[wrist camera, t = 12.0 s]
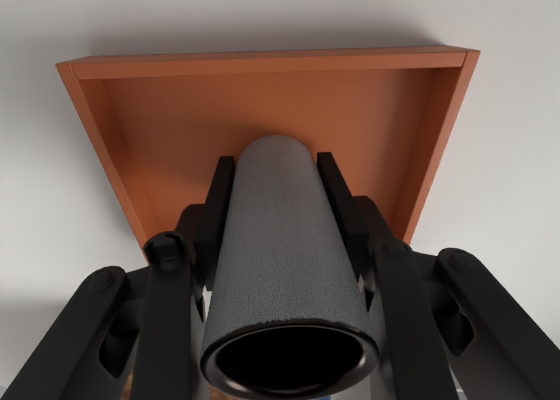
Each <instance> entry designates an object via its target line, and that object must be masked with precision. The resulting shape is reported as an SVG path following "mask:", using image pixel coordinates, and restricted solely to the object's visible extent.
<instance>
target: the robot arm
mask: <svg viewBox="0 0 560 400" xmlns="http://www.w3.org/2000/svg"><path fill="white" fill-rule="evenodd" d="M316 165H317V168H318V171H319V174H320V177H321V180H322V183H323V185H324V188H325V191H326V194H327V197H328V200H329V203H330V206H331V208H332V211H333V214H334V217H335V220H336V223H337V226H338V229H339V232H340V234H341V237H342V240H343V243H344V246H345V249H346V252H347V255H348V257H349V260H350V263H351V266H352V269H353V272H354V275H355V278H356V280H357V283H358V282H359V278H360V274H361V277H362V279H363V282H364V285H363V289H362V293H361V295H362V298H363V301H364V304H365V306H366V309H367V312H368V315H369V318H370V321H371V324H372V327H373V330H374V332H375V335H376V338H377V342H378V345H379V349H380V356H379V360H378V363H377V365H376V367H375V369H374V370H373V371H372V372H371V374H370V375H369V381H370V393H371V400H460V399H459V396H458V393H457V390H456V387H455V383H454V380H453V377H452V374H451V371H450V368H451V370H452V372H453V374H454V376H455V377H456V379H457V381H458V383H459V385H460V387H461V389H462V390H463V392H464V394H465V396H466V398H467V400H560V350H559V349H558V347H557V346H556V345H555V344H554V343H553V342H552V341H551V340H550V339H549V337H548V336H547V335H546V334H545V333H544V332H543V331H542V330H541V328H540V327H539V326H538V325H537V324H536V323H535V322H534V321H533V320H532V318H531V317H530V316H529V315H528V314H527V313H526V312H525V311H524V309H523V308H522V307H521V306H520V305H519V304H518V303H517V302H516V301H515V299H514V298H513V297H512V296H511V295H510V294H509V293H508V292H507V290H506V289H505V288H504V287H503V286H502V285H501V284H500V283H499V282H498V280H497V279H496V278H495V277H494V276H493V275H492V274H491V273H490V271H489V270H488V269H487V268H486V267H485V266H484V265H483V264H482V263H481V261H480V260H478V259H477V258H476V257H475V256H474V255H472V254H470V253H468V252H467V251H464V250H461V249H458V248H445V249H442V250H441V251H440V252H439V254H438V256H433V255H428V254H423V253H418V252H414V251H412V249H411V247H410V246H409V245H408V244H407V243H405V242H404V241H402V240H400V239H398V238H395V236H394V234H393V233H392V231H391V229H390V228H389V226H388V224H387V223H386V221H385V219H384V217H383V216H382V214H381V212H380V211H379V210H378V207H377V206H376V204H375V202H374V201H373V200H371V199H370V198H369V197H367V196H366V195H362V196H352V194H351V192H350V190H349V188H348V186H347V184H346V182H345V180H344V178H343V176H342V174H341V172H340V170H339V167H338V165H337V163H336V161H335V159H334V157H333V155H332V153H331V152H317V162H316ZM235 170H236V169H235V161H234V156H220V157H219V160H218V163H217V166H216V170H215V173H214V176H213V179H212V182H211V185H210V188H209V191H208V194H207V197H206V201H205V203H203V204H189V205H188V206H187V207H186V208H185V209H184V210H183V211H182V213H181V216H180V218H179V221H178V223H177V225H176V227H175V230H174V231H164V232H161V233H158V234H156V235H154V236H152V237H151V238H150V239H149V240H147V241H146V242H145V244H144V246H143V248H142V249H143V251H144V253H145V255H146V257H147V259H148V262H149V264H150V265H149V266H147V267H144V268H142V269H138V270H135V271H131V272H128V273H125V271H124V269H122V268H121V267H119V266H108V267H104V268H101V269H99V270H97V271H95V272H93V273H92V274H90V275H89V276H88V277H87V278H86V279H85V280H84V281H83V282H82V283H81V285H80V286H79V287H78V289H77V290H76V292H75V293H74V295H73V296H72V297H71V299H70V300H69V302H68V303H67V305H66V306H65V307H64V309H63V310H62V312H61V313H60V315H59V316H58V317H57V319H56V320H55V322H54V323H53V325H52V326H51V327H50V329H49V330H48V332H47V333H46V335H45V336H44V337H43V339H42V340H41V342H40V343H39V345H38V346H37V347H36V349H35V350H34V352H33V353H32V354H31V356H30V357H29V359H28V360H27V362H26V363H25V364H24V366H23V367H22V369H21V370H20V372H19V373H18V374H17V376H16V377H15V379H14V380H13V382H12V383H11V384H10V386H9V387H8V389H7V390H6V392H5V393H4V394H3V396H2V397H1V399H0V400H120V398H121V396H122V393H123V390H124V388H125V385H126V383H127V380H128V377H129V375H130V372H131V370H132V367H133V365H134V362H135V365H134V371H133V377H132V383H131V390H130V396H129V400H210V395H209V383H208V382H207V381H206V380H205V378H204V377H203V375H202V373H201V370H200V365H199V360H200V354H201V348H202V343H203V338H204V332H205V327H206V319H205V301H204V298H203V295H202V293H203V289H204V284H205V286H206V289H207V291H212V290H213V285H214V280H215V275H216V269H217V264H218V259H219V254H220V249H221V243H222V238H223V233H224V228H225V222H226V217H227V212H228V207H229V201H230V196H231V191H232V186H233V181H234V175H235ZM449 366H450V368H449Z"/></svg>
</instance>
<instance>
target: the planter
mask: <svg viewBox="0 0 560 400" xmlns="http://www.w3.org/2000/svg"><path fill="white" fill-rule="evenodd" d="M379 356H380V349H379V345H378V342H377V338H376V335H375V332H374V330H373V327H372V324H371V321H370V318H369V315H368V312H367V309H366V306H365V304H364V301H363V298H362V295H361V292H360V289H359V286H358V283H357V280H356V278H355V275H354V272H353V269H352V266H351V263H350V260H349V257H348V255H347V252H346V249H345V246H344V243H343V240H342V237H341V234H340V232H339V229H338V226H337V223H336V220H335V217H334V214H333V211H332V208H331V206H330V203H329V200H328V197H327V194H326V191H325V188H324V185H323V183H322V180H321V177H320V174H319V171H318V168H317V165H316V162H315V160H314V158H313V156H312V154H311V152H310V151H309V149H308V148H307V147H306V146H305V145H304V144H303V143H301V142H300V141H299V140H297V139H295V138H292V137H289V136H286V135H268V136H264V137H261V138H258V139H256V140H255V141H253V142H252V143H250V144H249V145H248V146H247V147H246V148H245V149H244V150H243V152H242V153H241V155H240V157H239V159H238V163H237V166H236V170H235V175H234V181H233V186H232V191H231V196H230V201H229V207H228V212H227V217H226V222H225V228H224V233H223V238H222V243H221V249H220V254H219V259H218V264H217V269H216V275H215V280H214V285H213V290H212V296H211V301H210V306H209V311H208V317H207V322H206V327H205V332H204V338H203V343H202V348H201V354H200V360H199V365H200V370H201V373H202V375H203V377H204V378H205V380H206V381H207V382H208V383H209V384H210V385H211V386H213V387H214V388H216V389H217V390H219V391H221V392H223V393H225V394H228V395H230V396H233V397H237V398H240V399H245V400H313V399H318V398H322V397H326V396H330V395H333V394H336V393H339V392H342V391H344V390H346V389H349V388H351V387H353V386H355V385H356V384H358V383H360V382H361V381H362V380H364V379H365V378H366V377H368V376H369V375H370V374H371V372H372V371H373V370H374V369H375V367H376V365H377V363H378V360H379Z"/></svg>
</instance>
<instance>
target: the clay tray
mask: <svg viewBox="0 0 560 400" xmlns="http://www.w3.org/2000/svg"><path fill="white" fill-rule="evenodd" d="M479 55H480V51H479V50H474V49H467V48H461V47H453V46H415V47H382V48H348V49H315V50H282V51H249V52H216V53H183V54H150V55H117V56H88V57H83V58H79V59H74V60H70V61H65V62H61V63H57V64H55V65H56V67H57V70H58V72H59V74H60V76H61V78H62V80H63V83H64V85H65V87H66V89H67V91H68V93H69V95H70V98H71V100H72V102H73V104H74V106H75V108H76V110H77V113H78V115H79V117H80V119H81V121H82V123H83V125H84V128H85V130H86V132H87V134H88V136H89V138H90V140H91V143H92V145H93V147H94V149H95V151H96V153H97V155H98V158H99V160H100V162H101V164H102V166H103V168H104V170H105V173H106V175H107V177H108V179H109V181H110V183H111V185H112V188H113V190H114V192H115V194H116V196H117V198H118V200H119V203H120V205H121V207H122V209H123V211H124V213H125V215H126V218H127V220H128V222H129V224H130V226H131V228H132V230H133V233H134V235H135V237H136V239H137V241H138V243H139V245H140V248H141V250H142V252H143V254H144V256H145V258H146V260H147V263H148V265H150V264H149V262H148V259H147V257H146V255H145V253H144V251H143V249H142V248H143V246H144V244H145V242H146V241H147V240H149V239H150V238H151V237H152V236H154V235H156V234H158V233H161V232H164V231H174V230H175V227H176V225H177V223H178V221H179V218H180V216H181V213H182V211H183V210H184V209H185V208H186V207H187V206H188V205H189V204H203V203H205V201H206V197H207V194H208V191H209V188H210V185H211V182H212V179H213V176H214V173H215V170H216V166H217V163H218V160H219V157H220V156H234V161H235V169H236V166H237V163H238V159H239V157H240V155H241V153H242V152H243V150H244V149H245V148H246V147H247V146H248V145H249V144H250V143H252V142H253V141H255V140H256V139H258V138H261V137H264V136H268V135H286V136H289V137H292V138H295V139H297V140H299V141H300V142H301V143H303V144H304V145H305V146H306V147H307V148H308V149H309V151H310V152H311V154H312V156H313V158H314V160H315V162H317V152H331V153H332V155H333V157H334V159H335V161H336V163H337V165H338V167H339V170H340V172H341V174H342V176H343V178H344V180H345V182H346V184H347V186H348V188H349V190H350V192H351V194H352V196H362V195H366V196H367V197H369V198H370V199H371V200H373V201H374V202H375V204H376V206H377V207H378V210H379V211H380V212H381V214H382V216H383V217H384V219H385V221H386V223H387V224H388V226H389V228H390V229H391V231H392V233H393V234H394V236H395V238H398V239H400V240H402V241H404V242H405V243H407V244H408V245H409V244H410V242H411V239H412V236H413V233H414V231H415V228H416V225H417V223H418V220H419V217H420V214H421V212H422V209H423V206H424V204H425V201H426V198H427V196H428V193H429V190H430V187H431V185H432V182H433V179H434V177H435V174H436V171H437V168H438V166H439V163H440V160H441V158H442V155H443V152H444V150H445V147H446V144H447V141H448V139H449V136H450V133H451V131H452V128H453V125H454V122H455V120H456V117H457V114H458V112H459V109H460V106H461V104H462V101H463V98H464V95H465V93H466V90H467V87H468V85H469V82H470V79H471V76H472V74H473V71H474V68H475V66H476V63H477V60H478V58H479Z"/></svg>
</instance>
